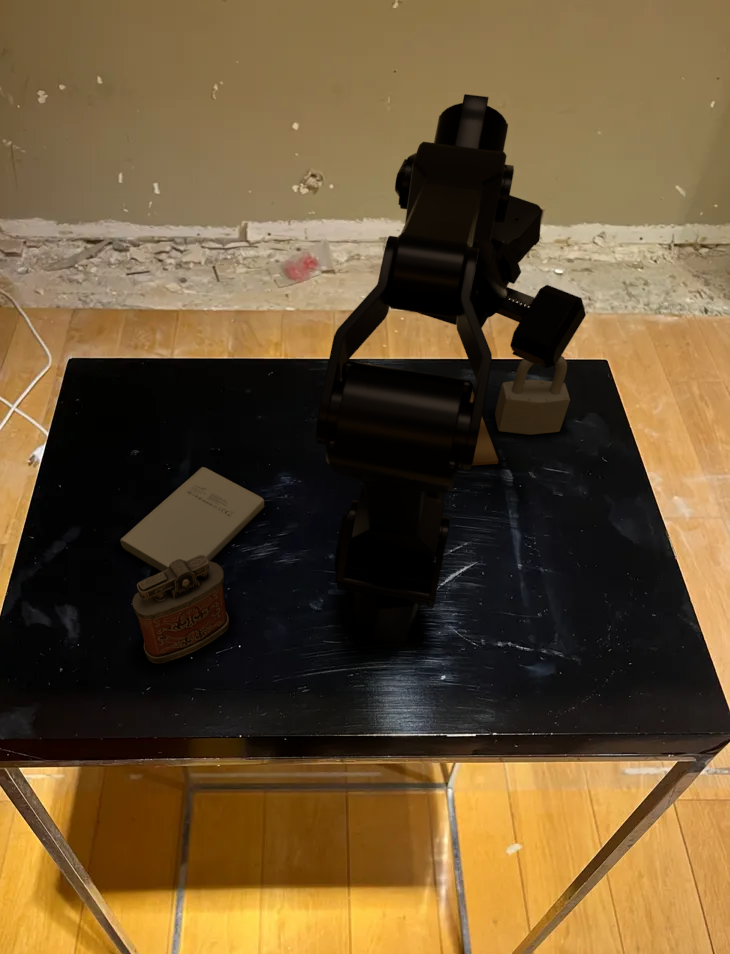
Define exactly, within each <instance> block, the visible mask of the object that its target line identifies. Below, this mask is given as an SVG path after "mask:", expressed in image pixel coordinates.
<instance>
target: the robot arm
mask: <svg viewBox="0 0 730 954" xmlns="http://www.w3.org/2000/svg"><path fill="white" fill-rule="evenodd" d="M488 104H489V96H483V95H477V94H475V95H474V94H468V93H465V94H463V99H462V102H460V103H456V104H453V105H451V106H448V107H447V108H445V109H444V110H443V111H442V112H441V113H440V115H439V116H438V118H437V119H438V120H437V125H436V130H435V135H434V140H433V142H429V141H422V142H420V143H419V145H418V147H417V150H416V152H415V153H413V154H411V155H409V156H407V158H404V160H403V162H402V163H401V165H400V167H399V170H398V172H397V173H396V177H395V184H394V185H395V186H394V191H395V193H396V195H397V196H398V206H399V208H400V209H401V210H406V213H405V219H404V226H403V228H402V230H401V232H400V234H399V235H398V236H397V235H396V236H395V235H389V236H388V237H387V239H386V243H385V246H384V249H383V256H382V260H381V265H380V270H379V275H378V280H377V283H376V285H375V286H374V287H373V288H372V290H371V291H370V292H369V293H368V294H367V295H366V296H365V298H364V299H363V300H362V301H361V302H360V303H359V304H358V306H357V307H356V308H354V310H353V311H352V312H351V313H350V314H349V315H348V317H347V318H345V320H344V321H343V322H342V323H341V324H340V326H338V328H337V329H336V331H335V333H334V335H333V339H332V344H331V348H330V354H329V358H328V363H327V367H326V372H325V377H324V381H323V387H322V391H321V396H320V401H319V407H318V412H317V421H316V431H315V439H316V443H317V444H318V445H319V444H320V445H325V461H326V463H327V464H328V466H329V467H330V468H331V469H332V470H333V471H334V472H335V473H337V474H340V475H343V476H346V477H350V478H353V479H356V480H359V481H362V484H363V486H362V487H361V488H360V493H359V498H358V500H355V499H353V500H352V502H351V505H350V506H349V507H348V510H347V511H346V512H345V513H343V514H342V515H341V520H340V525H339V532H338V538H337V543H336V549H335V555H334V556H335V557H334V568H333V571H334V572H335V574H336V577H335V584H336V588H337V590H339V591H344V590H345V593H344V601H345V608H346V612H347V618H348V624H349V630H350V637H351V642H352V648H353V649H354V650H355V651H357V652H358V651H359V652H360V651H371V650H383V649H394V648H402V647H403V648H405V647H414V646H421V645H424V643H425V640H426V639H425V633H424V629H423V625H422V621H421V616H420V613H419V609H418V606H419V605H421V606H426V608H432V609H433V608H434V606H435V603H436V597H437V593H438V586H439V583H440V582H439V581H440V576H441V571H442V566H443V560H444V556H445V549H446V545H447V539H448V534H449V528H450V523H451V517H449V516H443V514H444V510H445V504H446V503H445V501H444V499H443V498H444V493H449V492H451V491H452V490H453V488H454V486H455V484H456V479H457V475H458V470H459V469H464V470H467V471H469V470H470V471H471V470H472V467H473V465H472V463H473V459H474V455H475V450H476V445H477V440H478V435H479V430H480V424H481V419H482V418H483V412H484V407H485V403H486V398H487V397H486V396H487V391H488V385H489V381H490V376H491V375H490V374H491V370H492V369H491V368H492V364H493V356H492V351H491V348H490V346H489V343H488V341H487V339H486V335H485V333H484V331H483V327H484V325H485V324H486V322H487V321H488V319H489V318H491V317H493V316H494V315H495V314H497V315H498V314H499V315H500V316H503V317H505V318H507V319H510V320H511V321H515V322H516V323H518V324H517V326H516V328H515V329H514V331H513V333H512V337H511V340H510V348H511V350H512V351H513V352H512V355H513V356H514V357H515V356H516V357H518V358H520V359H522V360H523V359H525V360H527V361H529V362H531V363H534V364H533V365H537V366H541V367H543V368H545V369H549V368H551V367H556V364H557V362H558V360H559V359H560V357H561V356H563V354H564V352H565V350H566V349H567V347H568V346H569V344H570V342H571V341H572V339H573V338H574V336H575V334H576V333H577V331H578V329H579V328H580V326H581V324H582V322H583V321H584V319H585V318H586V316H587V315H586V309H585V305H584V301H583V299H582V297H580V296H578V295H575V294H572V293H570V292H567V291H565V290H562V289H560V288H557V287H555V286H552V285H549V284H546V285H544V286H542V287H541V288H539V289H538V291H537V293H536V295H535V296H531V295H529V294H526V293H525V292H521V291H519V290H516V289H514V288H511V287H509V284H513V285H514V284H515V283H516V282H517V280H518V279H519V277H520V275H521V274H522V270H521V267H520V264H519V263H520V262H521V261H522V260H523V259H524V258H525V257H526V256H527V254H529V252H530V251H531V250H532V248H534V246H536V245H537V244H538V243H539V242H540V240H541V222H542V208H541V206H540V205H538V204H537V203H534V202H532V201H528V200H526V199H522V198H520V197H517V196H514V195H511V191H512V186H513V185H512V184H513V180H514V173H515V172H514V171H515V167H514V164H507V163H506V161H507V154H506V152H505V147H506V141H507V135H508V129H509V123H508V122H507V120H506V118H505V117H504V115H503V114H502V113H501V112H499V111H498V110H497V109H496V108H493V107H491V106H489V105H488ZM390 309H391V310H397V311H398V310H399V311H405V312H411V313H417V314H419V315H423V316H426V317H430V318H432V319H436V320H438V321H441V322H445V323H448V324H451V325H453V326H456V331H457V334H458V336H459V339H460V341H461V344H462V346H463V349H464V352H465V354H466V357H467V360H468V362H469V364H470V368H471V370H472V373H473V375H474V378H475V381H476V382H475V386H474V384H473V382H472V381H471V380H470V379H464V378H459V377H451V376H446V375H439V374H434V373H427V372H421V371H415V370H408V369H402V368H397V367H396V368H395V367H390V366H383V365H376V364H371V363H365V362H358V361H352V360H350V359H351V357H352V356H354V354H355V353H356V352H357V351H358V350H359V348H360V347H361V346H362V345H364V343H365V342H366V341H367V340H368V339H369V337H371V335H372V334H373V333H374V332H375V331H376V330H377V329H378V327H379V326H380V325H381V324H382V323H383V321H385V319H386V317H387V316H388V314H389V311H390ZM474 387H475V388H474ZM473 390H474V392H473V393H474V398H473V402H470V399H471V394H472V391H473ZM358 644H359V645H358Z"/></svg>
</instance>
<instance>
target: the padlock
mask: <svg viewBox="0 0 730 954" xmlns="http://www.w3.org/2000/svg"><path fill="white" fill-rule="evenodd" d="M533 365H535V364H534V363H531V362H529V361H527V360H525V359H522V360H521V361H520V363H519V364H518V366H517V368H516V373H515V377H514V380H511V381H504V382H502V384H501V387H500V391H499V396H498V399H497V402H496V407H495V412H494V417H495V422H496V426H497V427H496V428H497V431H498V432H501V433H502V432H503V433H511V434H521V435H528V436H530V435H531V436H533V435H542V434H550V433H552V434H553V433H559V432H561V428H562V426H563V423H564V420H565V417H566V414H567V410H568V409H569V405H570V401H571V398H570V394H569V392H568V388H567V385H566V383H565V378H566V375H567V371H568V362H567V360H566V358H565V357H564V356H563V355H561V357H560V359H559V360H558V362H557V364H556V365H555V372H554V375H553V379H552V381H550V380H542V379H527V375H528V372H529V370H530V368H531V367H532V366H533Z"/></svg>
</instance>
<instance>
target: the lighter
mask: <svg viewBox="0 0 730 954" xmlns="http://www.w3.org/2000/svg"><path fill="white" fill-rule="evenodd" d="M224 582H225V576H224V570H223V568H222V567H221V565H220V564H218V563H217V562H215V561H209V562H208V559H207V558H206V556H205V555H198V556H196V557H194V558H192V559H189V560H187V561H185V560H182V559H178V560H176V561H173V562H172V563H171V564H170V565H169V567H168V568H167V570H165V571H163V572H161V571H160V572H159V573H156V574H154V575H152V576H149V577H147V578H145V579H142V580H141V581H139V582H138V583H137V584H136V588H137V593H135V594H134V596H133V598H132V608H133V612H134V613H135V615H136V616H137V618H138V622H139V626H140V631H141V634H142V638H143V650H144V654H145V657H146V658H147V660H149V661H150V662H151V663H154V664H164V663H166V662H170V661H174V660H176V659H179V658H182V657H184V656H187V655H189V654H191V653H194V652H195V651H198V650H200V649H201V648H203V647H205V646H206V645H208V644H210V643H212V642H214V641H215V640H216V639H217V638H219V637H220V636H222V635H223V634H224V633H225V632H227V630H228V629H229V626H230V619H229V614H228V613H227V611H226V603H225V594H224V586H223V585H224Z"/></svg>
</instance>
